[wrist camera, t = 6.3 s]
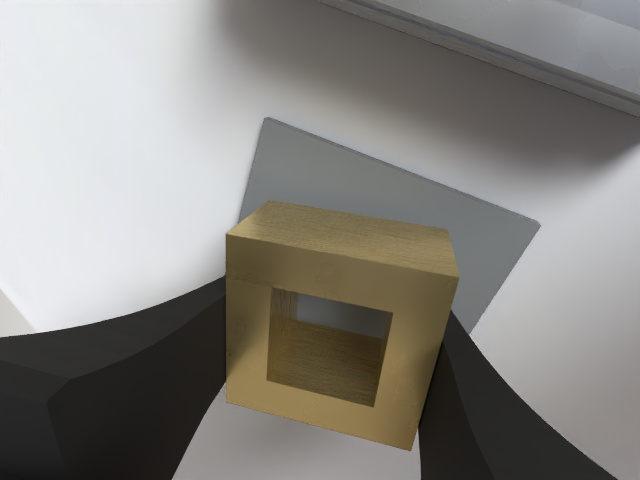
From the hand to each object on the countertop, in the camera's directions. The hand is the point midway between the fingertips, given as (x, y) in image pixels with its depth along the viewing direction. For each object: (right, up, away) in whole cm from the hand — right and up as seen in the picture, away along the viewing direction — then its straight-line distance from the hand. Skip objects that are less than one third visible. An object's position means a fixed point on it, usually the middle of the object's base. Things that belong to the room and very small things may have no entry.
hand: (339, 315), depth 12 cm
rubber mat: (0, +1, +2) cm, 2 cm away
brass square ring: (0, +1, 0) cm, 1 cm away
